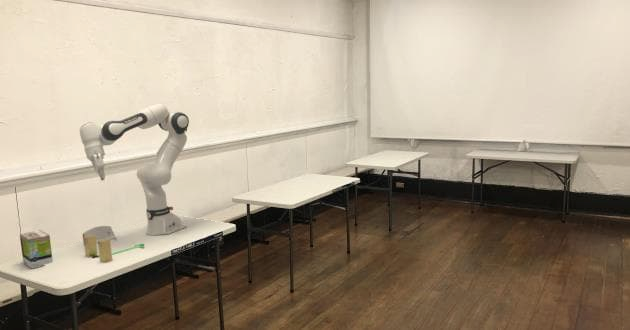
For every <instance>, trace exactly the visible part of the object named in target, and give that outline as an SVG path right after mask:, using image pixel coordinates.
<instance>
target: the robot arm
mask: <svg viewBox="0 0 630 330" xmlns="http://www.w3.org/2000/svg"><path fill="white" fill-rule="evenodd" d="M189 123H190V119H189V117H188V115H187V114H186V113H183V112H179V111H177V112H176V111H175V112H174V111H173V112H169V110H168V108H167V107H166V106H165V104H163V103H157V104H152V105H149V106H147V107H143V108H142V109H140V110H138V111H137V112H136V113H134V114H133V115H131V116H129V117H126V118H124V119H121V120H108V121H107V122H105V123H104V124H103V125H99V124H97V123H95V122H93V121H92V122H87V123H84V124H83V125H81V126H80V128H79V136H80V140H81V143H82V144H83V147H84V153H85V155H86V159H87V160H89V161H90V163H91V164H92V167H93V169H94V171H95V174H98V176H99V178H100V181H105V178H106V174H105V163H104V156H105V155H106V153H105V149H104V146H111V145H113V144H115V143H116V142H117V141H118V140H120V138H122V136H123V135H124V134H125V133H126V132H128V131H131V130H134V129H136V128H139V129H140V130H146V129H150V128H152V127H155V126H156V125H158V126H159V128H160V129H161V130H162V131H165V132H168V135H167V137H166V139H165V140H164V141H163V143H162V144H161V146H160V147H159V149H158V151H157V152H156V159H155V162H154V163H153V164H150V163H148V164H143V165H141V166H139V167H138V169H137V171H136V177H137V179H138V180H139V181H140V184H141V187H142V189H143V192H144V196H145V201H146V202H145V203H146V218H147V226H146V227H147V228H146V234H147V235H149V236H160V235H170V234H172V233H176V232H177V231H181V230H183V229H185V228H186V227H187V226H186V224H184V223H182V220H181V218H180V217H179V216H178V215H177V214H176V213H175V214H174V213H173V212H171V211H173V210H174V206H168V203H167V194H166V191H165V190H164V188H163V187H162V186H165V185H168V184H169V183H170V182H171V181H172V168H173V166H174V164H175V162H176V160H177V159H178V157H179V156H180V154H181V153H182V151H183V149H184V147H185V146H186V143H187V140H188V136H187V134H186V132H187V131H188V127H189V125H190V124H189Z"/></svg>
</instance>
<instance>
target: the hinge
mask: <svg viewBox="0 0 630 330" xmlns="http://www.w3.org/2000/svg"><path fill="white" fill-rule="evenodd" d="M112 228H113V227H112V226H109V225H100V226H95V227H92V228H90V229H88V230H86V231H84V232H83V233H82V242H83V244H84V238H83V237H84V236H87V235H94V236H95V239H96V245H98V241H100V240H103V239H108V240H110V241H111V240H112V241H117V239H118V238H117V236H116V235H115V234H114V231H113V229H112Z"/></svg>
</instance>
